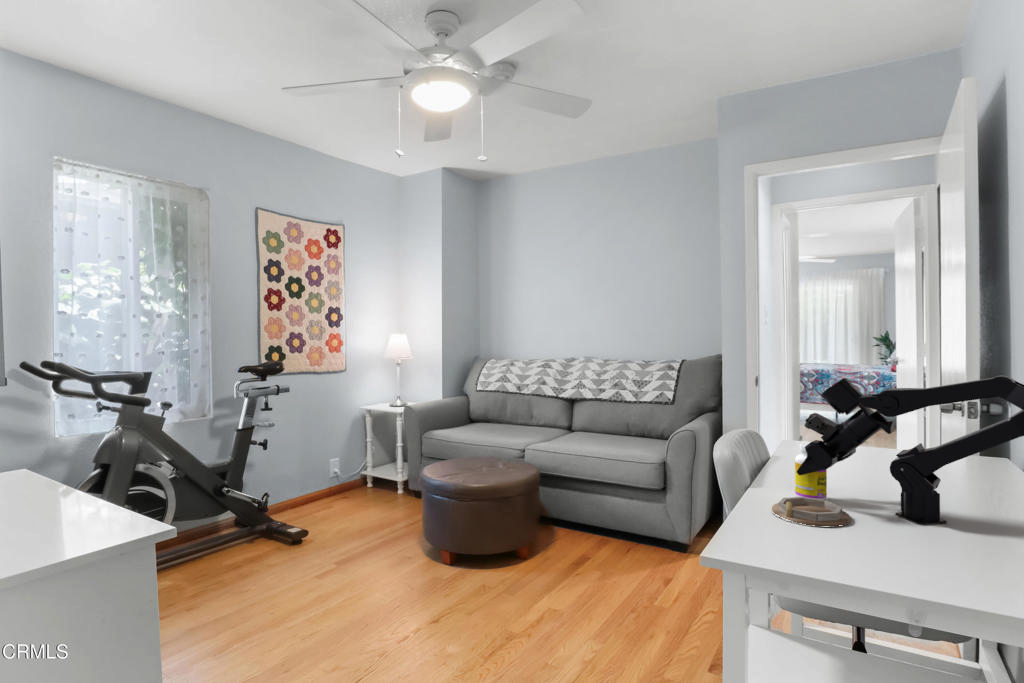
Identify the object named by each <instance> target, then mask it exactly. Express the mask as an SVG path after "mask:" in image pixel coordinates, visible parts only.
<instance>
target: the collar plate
mask: <svg viewBox="0 0 1024 683" xmlns="http://www.w3.org/2000/svg"><path fill="white" fill-rule="evenodd" d="M772 511H773V512H774V513H775V514H777V515H779V516H780V517H783V518H785V519H788V520H791V521H793V522H797V523H802V524H806V525H815V526H839V525H845V524H847V523H849V522H851V516H850V514H849V513H848V512H847V511H844V510H843V507H842V506H840V505H838V504H837V503H834V502H831V501H829V500H827V499H826V500H820V499H814V498H807V497H796V496H795V497H793V496H792V497H790V496H789V497H783V498H781V500H780V501H779V502H777V503H774V504H773V505H772V506H771V512H772ZM849 524H850V523H849ZM806 525H805V526H806ZM847 525H848V524H847ZM845 526H846V525H845Z"/></svg>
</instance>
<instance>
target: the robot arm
mask: <svg viewBox="0 0 1024 683" xmlns="http://www.w3.org/2000/svg"><path fill="white" fill-rule="evenodd" d="M820 397H821V398H822V399H823V400H824V401H825V402H826V403H827V404H828V405H829V406H830V407H831V408H832V409H833V410H834V411H835V412H837V414H838V415H841V414H842V415H844V414H845V415H846V416H848V415H850V414H852V413H853V412H855V413H854V414H852V415H850V416H849V417H848V418H847V419H846V420H844V421H842V422H841V423H836V422H835V421H833V420H831V419H829V418H827V417H825V416H824V415H822V414H820V413H817V412H813V413H810V414H809V416H808V418H806V419H805V424H804V427H805V428H806V429H808V430H811V431H813V432H816V433H817V434H819V435H821V436H820V439H821V440H818V439H815V440H813V441H812V440H811V441H810V442H809V443H807V444H808V445H807V446H805V449H806V452H807V457H806V459H805V460H804V462H803V463H802V465H801V466H800V467H799V469H798V470H797V473H798V475H804V474H808V473H812V472H816V471H821V470H826V471H827V470H828V469H830V468H832V467H833V466H835V464H837V463H839V462H842V461H845V460H846V459H849V458H850V457H851V456H853V455H854V454H856V452H857V450H856V449H857V448H858V447H859V446H861V445H863V444H864V443H866V442H867V440H869V439H870V438H872V437H873V436H874V435H875V434H877V433H879V431H881V430H883V431H884V432H885V433H886V434H888V435H891V434H892V433H894V432H895V420H892V419H891V420H890V419H887V418H891V417H892V418H893V417H898V416H902V415H904V414H907V413H911V412H914V411H918V410H920V409H923V408H927V407H933V406H940V405H948V404H953V403H955V404H956V403H961V402H968V401H970V402H971V401H975V400H982V399H990V398H991V399H992V398H996V397H997V398H1001V399H1003V400H1005V401H1007V402H1008V403H1010V404H1011V405H1014V406H1016V407H1017V408H1018V409H1020V410H1019V411H1018V412H1016V413H1014V414H1013V415H1011V416H1009V417H1008V418H1005V419H1003V420H1000V421H998V422H995V423H993V424H990V425H988V426H985V427H983V428H981V429H978V430H975V431H973V432H971V433H968V434H965V435H963V436H960V437H958V438H955V439H953V440H950V441H947V442H945V443H942V444H940V445H938V446H935V447H929V448H925V447H924V445H923V443H921V442H920V443H919V444H917V445H915V446H914V447H912V448H910V449H902V450H901V451H899V452H898V453H897V454H895V456H896V458H894V460H892V462H891V463H890V465H889V472H890V474H891V477H892V478H893V479H895V481H897V482H898V484H899V486H900V488H901V492H900V511H898V512H895V513H894V514H895V516H898V517H900V518H902V519H905V520H908V521H910V522H912V523H915V524H917V525H934V524H935V525H936V524H947V523H948V521H947V519H944V518H941V496H940V495H941V494H940V493H939V492H938V491H937V490H936V489H937V488H938V487H939V485H940V483H941V478H940V477H938V475H936V474H935V472H937V471H938V470H940V469H941V468H942V467H944V466H947V465H950V464H952V463H954V462H957V461H960V460H962V459H965V458H967V457H970V456H973V455H976V454H978V453H981V452H983V451H986V450H989V449H992V448H995V447H997V446H1000V445H1002V444H1005V443H1008V442H1010V441H1013V440H1015V439H1018V438H1021V437H1024V384H1023V383H1021V382H1019V381H1017V380H1015V379H1013V378H1012V377H1010V376H1008V375H1003V374H1002V375H997V376H994V377H989V378H984V379H983V378H982V379H977V380H976V379H975V380H970V381H965V382H956V383H950V384H946V385H938V386H933V387H932V386H931V387H926V388H924V387H923V388H921V387H920V388H917V387H915V388H914V387H906V388H905V387H897V388H896V387H894V388H888V389H885V390H881V391H879V392H878V393H873V394H872V393H867V394H864V393H862V392H861V391H860V390H859V389H858V388H857V387H856V386H854V384H853V383H852V382H851V380H849V378H847V377H843V378H842V379H841V380H839V381H837V382H836V383H834V384H833V385H832V386H829V387H828V388H826V389H825V390H824V391H823V392H822V393H821V394H820ZM858 408H860V409H858ZM856 409H858V410H857V411H856ZM872 409H873V410H872ZM874 410H876V411H874ZM886 417H887V418H886Z"/></svg>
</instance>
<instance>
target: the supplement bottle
mask: <svg viewBox="0 0 1024 683" xmlns="http://www.w3.org/2000/svg"><path fill="white" fill-rule="evenodd" d="M808 444H809V443H801V444H799V452H800V454H797V455H796V457H795V459H794V475H795V476H794V478H795V479H794V483H795V484H794V494H795V497H807V498H814V499H820V500H826V501H827V498H828V497H827V495H828V493H827V492H828V491H827V489H828V488H827V487H828V486H827V483H828V482H827V469H826V470H821V471H816V472H812V473H808V474H804V475H798V473H797V470H798V469H799V467H800V466H801V465H802V463H803V462H804V460H805V459H806V457H807V452H806V449H805V446H807V445H808Z"/></svg>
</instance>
